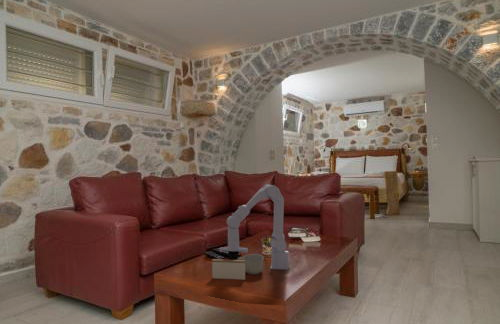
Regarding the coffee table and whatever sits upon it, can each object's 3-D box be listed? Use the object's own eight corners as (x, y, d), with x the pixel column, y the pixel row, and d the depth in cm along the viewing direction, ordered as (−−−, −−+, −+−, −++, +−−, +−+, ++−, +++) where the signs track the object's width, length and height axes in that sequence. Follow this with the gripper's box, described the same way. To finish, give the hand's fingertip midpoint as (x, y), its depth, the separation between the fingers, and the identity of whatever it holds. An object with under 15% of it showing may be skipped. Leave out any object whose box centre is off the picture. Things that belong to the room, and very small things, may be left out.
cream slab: (245, 278, 160) (245, 260, 160) (245, 279, 158) (244, 261, 158) (213, 277, 163) (212, 259, 163) (211, 278, 161) (211, 260, 161)
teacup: (266, 270, 172) (265, 254, 172) (261, 277, 161) (260, 260, 161) (240, 268, 176) (240, 253, 176) (234, 274, 165) (233, 258, 165)
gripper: (248, 238, 173) (249, 264, 173) (221, 237, 175) (222, 263, 175) (246, 241, 166) (246, 268, 166) (218, 240, 169) (218, 267, 169)
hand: (234, 266), depth 170 cm, fingers closed
